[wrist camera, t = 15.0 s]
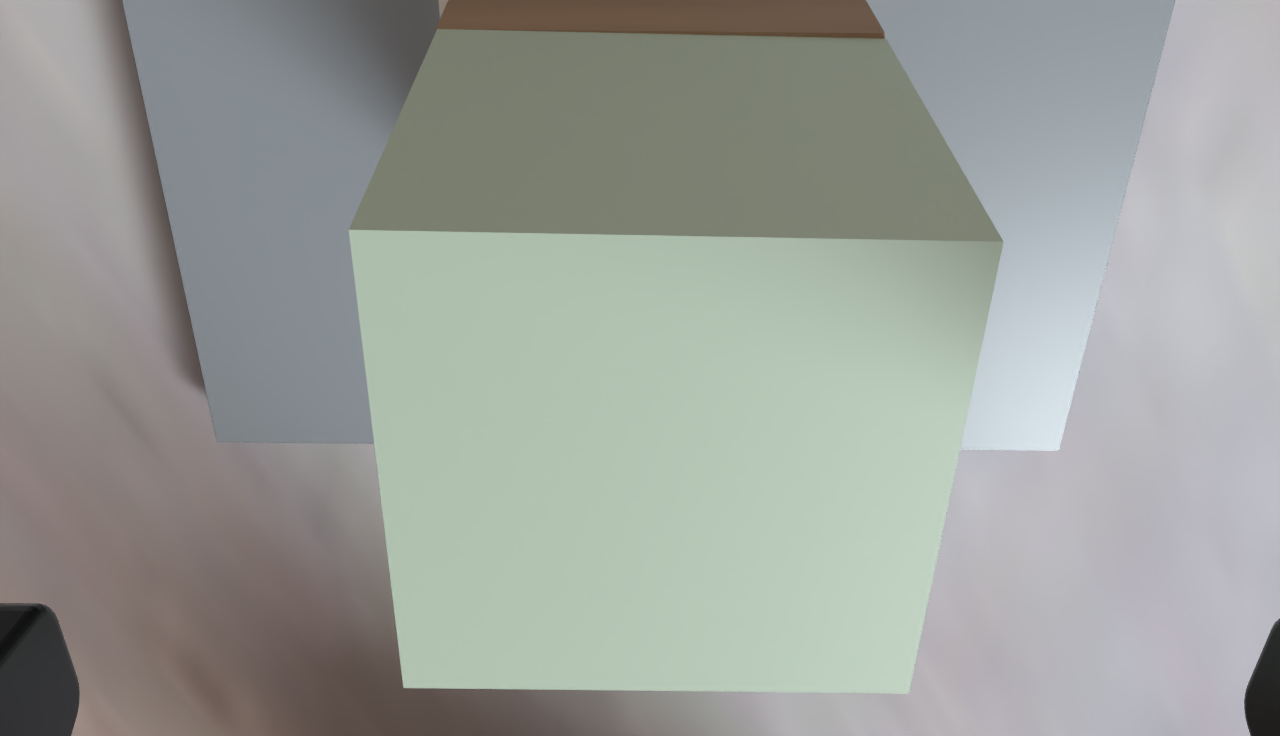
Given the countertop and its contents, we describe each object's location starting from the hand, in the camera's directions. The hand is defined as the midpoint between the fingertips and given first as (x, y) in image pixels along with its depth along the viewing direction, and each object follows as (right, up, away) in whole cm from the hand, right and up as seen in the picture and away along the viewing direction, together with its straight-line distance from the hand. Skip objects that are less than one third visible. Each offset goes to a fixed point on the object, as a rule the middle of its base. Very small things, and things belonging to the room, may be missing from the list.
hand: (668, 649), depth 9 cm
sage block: (0, +4, +6) cm, 7 cm away
